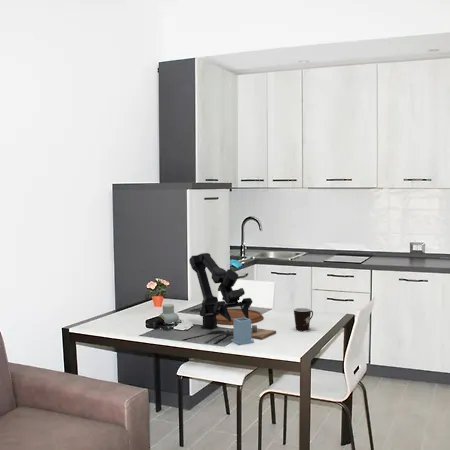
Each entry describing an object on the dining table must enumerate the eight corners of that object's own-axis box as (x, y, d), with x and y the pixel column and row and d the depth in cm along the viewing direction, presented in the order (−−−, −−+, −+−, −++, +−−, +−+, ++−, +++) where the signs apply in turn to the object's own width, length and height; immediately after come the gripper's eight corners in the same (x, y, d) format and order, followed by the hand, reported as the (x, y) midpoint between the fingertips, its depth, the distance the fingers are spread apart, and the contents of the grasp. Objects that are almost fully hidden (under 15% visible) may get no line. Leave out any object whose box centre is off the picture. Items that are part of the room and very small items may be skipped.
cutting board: (243, 328, 310) (243, 323, 310) (192, 321, 328) (192, 316, 328) (274, 316, 337) (274, 312, 336) (225, 310, 354) (225, 306, 354)
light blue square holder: (231, 341, 285) (231, 318, 284) (245, 339, 288) (245, 316, 288) (239, 344, 278) (239, 322, 277) (253, 342, 282) (253, 320, 281)
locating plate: (233, 335, 295) (233, 326, 295) (247, 329, 307) (247, 321, 307) (262, 339, 287) (262, 330, 286) (276, 333, 298) (276, 324, 298)
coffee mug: (297, 332, 300) (297, 312, 299) (291, 328, 308) (290, 308, 307) (319, 330, 303) (319, 310, 302) (312, 326, 311) (312, 307, 311)
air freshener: (156, 323, 323) (156, 304, 322) (169, 320, 328) (169, 302, 327) (167, 327, 314) (167, 307, 314) (180, 324, 319) (180, 305, 319)
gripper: (215, 284, 284) (227, 312, 275) (250, 281, 293) (262, 307, 284) (208, 298, 291) (219, 326, 282) (242, 294, 300) (254, 321, 291)
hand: (239, 320), depth 285 cm, fingers open, 9 cm apart
